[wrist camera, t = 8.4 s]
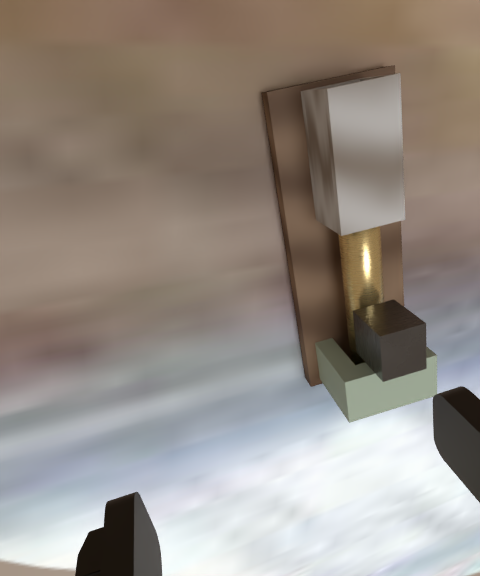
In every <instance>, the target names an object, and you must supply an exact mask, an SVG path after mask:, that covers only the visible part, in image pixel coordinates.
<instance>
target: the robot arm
mask: <svg viewBox="0 0 480 576" xmlns="http://www.w3.org/2000/svg"><path fill="white" fill-rule="evenodd" d="M433 427H434V441H435V444H436V447H437V449H438V451H439V453H440V455H441V457H442V458H443V460H444V461H445V462H446V463H447V464H448V466H449V467H450V468H451V469H452V470H453V472H454V473H455V474H456V475H457V476H458V477H459V479H460V480H461V481H462V482H463V483H464V485H465V486H466V487H467V488H468V489H469V490H470V492H471V493H472V494H473V495H474V496H475V498H476V499H477V500H478V501H479V502H480V399H478V398H477V397H476V396H475V395H474V394H473V393H472V392H470V391H469V390H468V389H467V388H465V387H458V388H455V389H452V390H449V391H445V392H442V393H439V394H436V395H435V396H434V397H433ZM75 576H162V563H161V551H160V545H159V540H158V536H157V533H156V530H155V528H154V526H153V523H152V521H151V519H150V517H149V514H148V512H147V510H146V508H145V505H144V503H143V501H142V499H141V497H140V495H139V493H138V492H135V493H132V494H129V495H126V496H123V497H120V498H117V499H113V500H110V501H108V502H107V503H106V507H105V518H104V527H102V528H99V529H96V530H93V531H90V532H89V533H88V535H87V538H86V540H85V542H84V544H83V546H82V548H81V550H80V552H79V554H78V559H77V566H76V574H75Z"/></svg>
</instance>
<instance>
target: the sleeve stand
mask: <svg viewBox="0 0 480 576" xmlns="http://www.w3.org/2000/svg"><path fill="white" fill-rule="evenodd" d="M262 98H263V104H264V111H265V117H266V124H267V130H268V137H269V143H270V150H271V156H272V163H273V169H274V176H275V182H276V189H277V195H278V202H279V208H280V215H281V222H282V228H283V235H284V241H285V248H286V254H287V261H288V267H289V274H290V280H291V287H292V293H293V300H294V306H295V313H296V319H297V326H298V332H299V339H300V345H301V352H302V358H303V365H304V371H305V378H306V380H307V381H308V383H309V385H310V386H311V387H312V386H315V385H319V384H322V381H321V380H320V376H319V368H318V361H317V354H316V346H315V343H316V342H320V341H323V340H327V339H330V338H333V339H334V341H335V342H336V343H337V344H338V345H339V347H340V348H341V349H342V350H343V351H344V353H345V354H346V355H347V356H348V357H349V358H350V360H351V357H350V347H349V337H348V327H347V317H346V307H345V297H344V287H343V277H342V267H341V257H340V247H339V237H338V234H339V235H341V236H343V235H347V234H351V233H355V232H359V231H363V230H367V229H370V228H374V227H378V226H380V232H381V250H382V267H383V284H384V301H385V302H386V301H390V300H393V299H394V300H396V301H397V302H398V303H400V304H401V305H402V306H404V294H403V268H402V241H401V221H402V220H405V198H404V168H403V138H402V109H401V79H400V73H398V74H395V65H394V66H388V67H382V68H377V69H373V70H368V71H363V72H358V73H354V74H349V75H344V76H339V77H335V78H330V79H325V80H320V81H316V82H311V83H306V84H301V85H297V86H292V87H287V88H282V89H278V90H273V91H268V92H263V93H262Z"/></svg>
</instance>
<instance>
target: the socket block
mask: <svg viewBox="0 0 480 576" xmlns="http://www.w3.org/2000/svg"><path fill="white" fill-rule="evenodd" d="M315 346H316V354H317V361H318V368H319V376H320V380H321V381H322V383H323V384H324V386H325V387H326V389H327V390H328V392H329V393H330V395H331V396H332V398H333V399H334V401H335V402H336V404H337V405H338V407H339V408H340V409H341V411H342V412H343V414H344V415H345V417H346V418H347V420H348V421H349V423H350V422H353V421H356V420H359V419H362V418H366V417H369V416H372V415H375V414H379V413H382V412H385V411H388V410H391V409H395V408H398V407H401V406H404V405H407V404H411V403H414V402H417V401H420V400H424V399H427V398H430V397H433V396H435V395H436V394H437V355H436V354H435V353H434V352H432V351H431V350H430V349H429V348H428V347H426V360H427V369H424V370H421V371H418V372H414V373H411V374H408V375H404V376H401V377H398V378H394V379H391V380H388V381H385V382H382V380H381V379H380V378H379V377H378V376H377V375H376V374H375V373H374V372H373V370H372V369H371V368H370V367H369V366H368V365H367V364H366V363H362V364H358V365H355V364H354V363H353V362H352V361H351V360H350V358H349V357H348V356H347V355H346V354H345V353H344V351H343V350H342V349H341V348H340V347H339V345H338V344H337V343H336V342H335V341H334V339H333V338H330V339H327V340H323V341H320V342H316V343H315Z"/></svg>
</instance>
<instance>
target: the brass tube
mask: <svg viewBox="0 0 480 576" xmlns="http://www.w3.org/2000/svg"><path fill="white" fill-rule="evenodd" d="M338 237H339V247H340V257H341V267H342V277H343V287H344V297H345V307H346V317H347V327H348V337H349V347H350V357H351V361H352V362H353V363H354V364H355V365H358V364H362V363H366V364H367V365H368V366H369V367H370V368H371V369H372V370H373V372H374V373H375V374H376V375H377V376H378V377H379V378H380V379H381V380H382V382H385V381H388V380H391V379H394V378H398V377H401V376H404V375H408V374H411V373H414V372H418V371H421V370H424V369H427V360H426V323H425V322H423V321H422V320H421V319H420V318H418V317H417V316H416V315H414V314H413V313H412V312H410V311H409V310H408V309H406V308H405V307H404V306H402V305H401V304H400V303H398V302H397V301H396V300H394V299H393V300H390V301H386V302H385V301H384V284H383V267H382V250H381V232H380V226H378V227H374V228H370V229H367V230H363V231H359V232H355V233H351V234H347V235H343V236H341V235H339V234H338Z"/></svg>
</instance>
